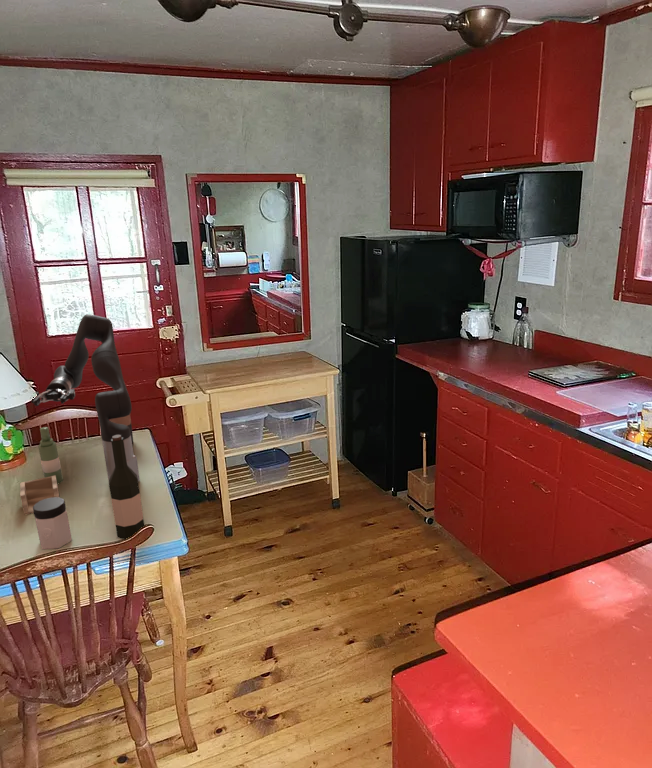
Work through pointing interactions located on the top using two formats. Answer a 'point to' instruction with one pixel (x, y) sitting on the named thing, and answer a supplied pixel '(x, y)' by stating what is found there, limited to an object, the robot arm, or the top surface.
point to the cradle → (37, 492)
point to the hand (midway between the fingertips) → (49, 402)
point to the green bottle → (49, 456)
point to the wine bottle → (124, 493)
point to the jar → (52, 523)
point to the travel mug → (124, 423)
